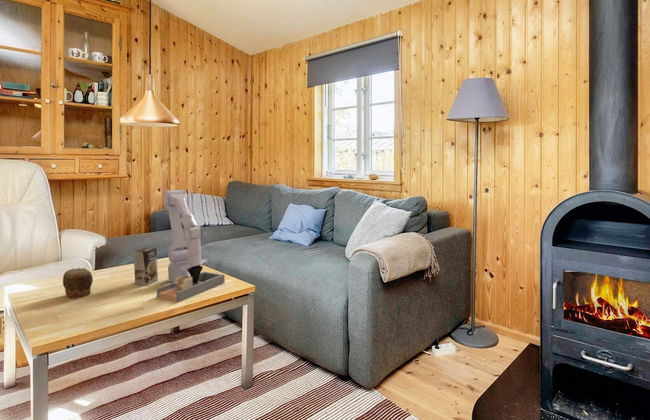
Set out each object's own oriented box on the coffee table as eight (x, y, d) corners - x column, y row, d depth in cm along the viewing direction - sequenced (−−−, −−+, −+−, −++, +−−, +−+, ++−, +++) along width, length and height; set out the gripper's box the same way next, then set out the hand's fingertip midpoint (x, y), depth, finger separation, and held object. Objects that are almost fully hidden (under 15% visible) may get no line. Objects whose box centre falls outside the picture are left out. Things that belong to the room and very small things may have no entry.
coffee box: (146, 286, 188) (145, 252, 186) (134, 285, 190) (132, 251, 188) (158, 280, 197) (157, 247, 195) (146, 279, 199) (145, 247, 197)
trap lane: (157, 297, 173) (156, 288, 173) (204, 279, 199) (204, 271, 199) (178, 301, 168) (178, 292, 167) (224, 282, 194) (224, 274, 194)
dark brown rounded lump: (62, 301, 167) (60, 273, 166) (65, 293, 177) (63, 266, 176) (93, 297, 172) (91, 270, 171) (94, 290, 182) (92, 264, 181)
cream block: (175, 289, 178) (175, 278, 177) (184, 286, 182) (183, 275, 181) (184, 291, 175) (183, 279, 175) (192, 287, 180) (192, 276, 179)
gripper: (189, 257, 175) (190, 287, 176) (212, 250, 188) (212, 279, 190) (177, 255, 178) (178, 285, 179) (200, 249, 191) (201, 277, 193)
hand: (195, 282), depth 185 cm, fingers closed
